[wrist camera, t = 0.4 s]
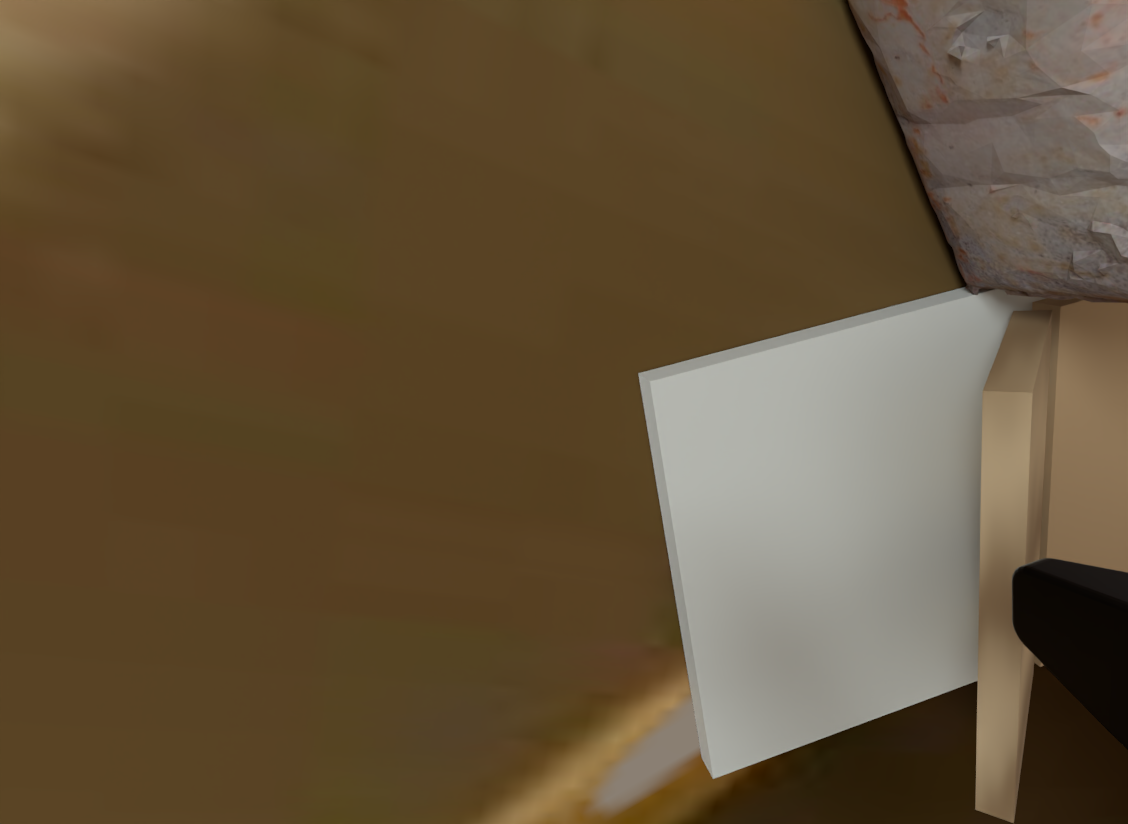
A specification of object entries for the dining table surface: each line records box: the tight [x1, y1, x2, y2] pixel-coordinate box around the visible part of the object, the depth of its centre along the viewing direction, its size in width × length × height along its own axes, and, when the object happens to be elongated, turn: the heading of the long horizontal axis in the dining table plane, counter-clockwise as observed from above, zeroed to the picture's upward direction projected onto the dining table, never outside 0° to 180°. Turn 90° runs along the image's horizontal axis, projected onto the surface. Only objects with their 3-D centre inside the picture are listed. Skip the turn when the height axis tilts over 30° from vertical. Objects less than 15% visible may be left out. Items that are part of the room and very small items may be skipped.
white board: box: [638, 287, 1128, 779], centre depth 24 cm, size 16×20×2 cm
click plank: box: [975, 310, 1052, 823], centre depth 21 cm, size 14×7×1 cm
